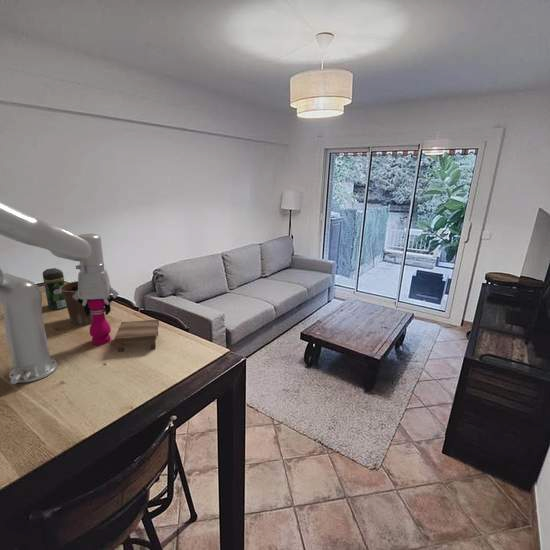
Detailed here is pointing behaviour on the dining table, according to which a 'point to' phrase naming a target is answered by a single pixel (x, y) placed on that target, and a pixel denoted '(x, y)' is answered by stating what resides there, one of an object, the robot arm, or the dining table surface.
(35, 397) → the dining table surface
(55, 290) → the coffee jar
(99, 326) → the pepper mill
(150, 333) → the wooden stool
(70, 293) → the plant pot
